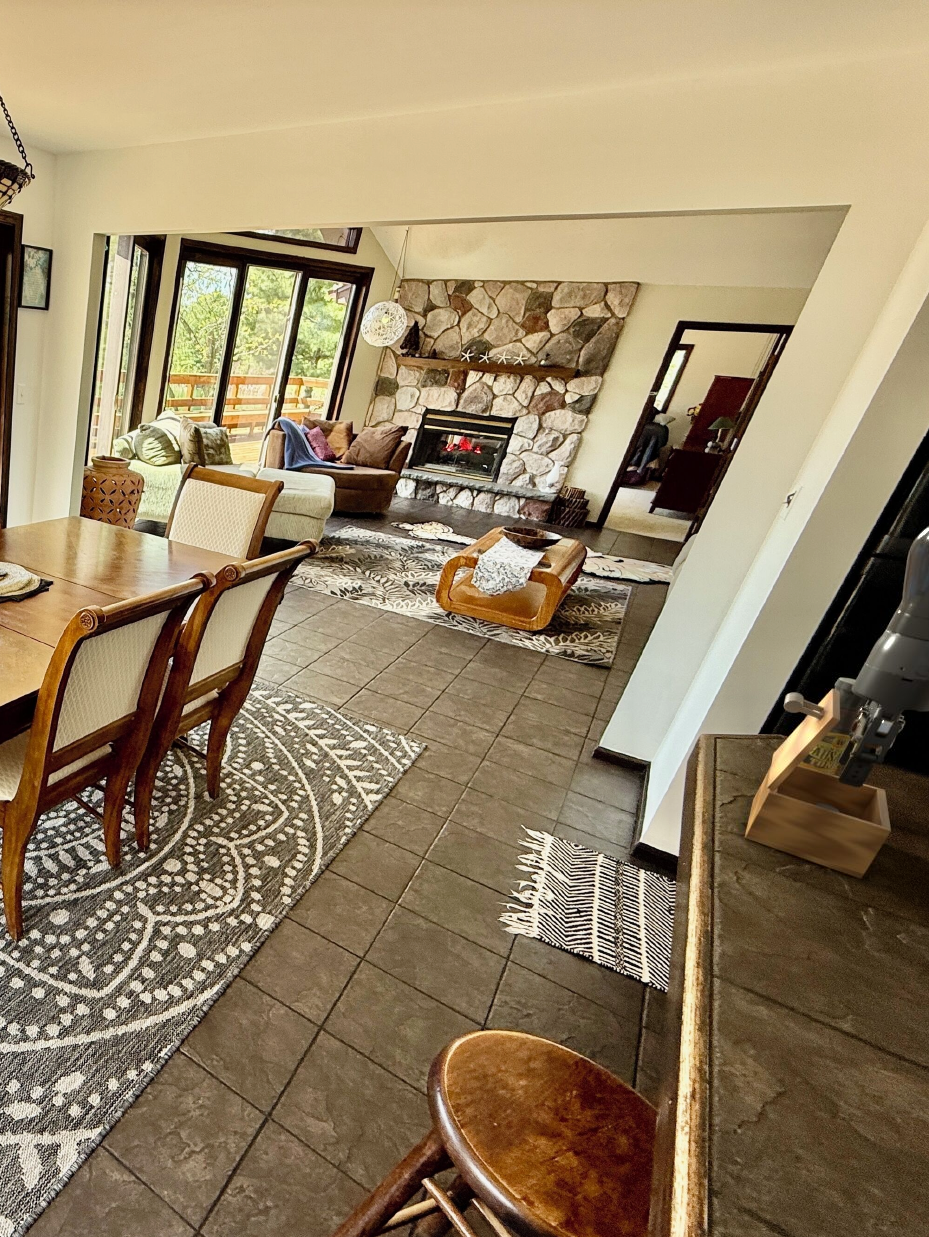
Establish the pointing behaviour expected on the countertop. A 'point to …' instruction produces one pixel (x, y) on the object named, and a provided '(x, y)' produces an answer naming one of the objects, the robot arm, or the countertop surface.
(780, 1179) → the countertop surface
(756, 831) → the chest
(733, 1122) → the countertop surface
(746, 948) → the countertop surface
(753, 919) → the countertop surface
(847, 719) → the sauce bottle
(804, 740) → the chest lid
